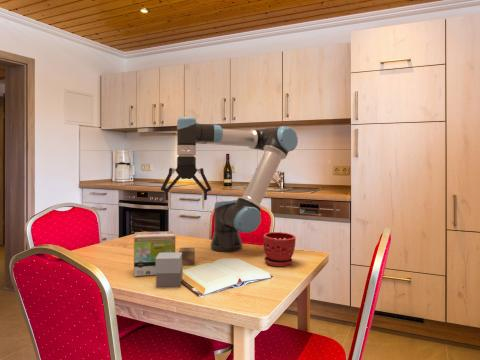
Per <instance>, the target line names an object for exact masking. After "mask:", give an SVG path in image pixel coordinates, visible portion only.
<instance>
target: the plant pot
mask: <svg viewBox="0 0 480 360" xmlns="http://www.w3.org/2000/svg"><path fill="white" fill-rule="evenodd" d="M295 247H296V236H295V235H294V234H292V233H288V232H277V231H275V232H273V231H271V232H266V233H264V234H263V251H264V254H265V256H264V258H263V260H264V262H265V263H266V264H267V265H270V266H273V267H286V266H290V265H291V264H292V263H293V258H292V257H293V255H294V253H295V251H294V250H295Z"/></svg>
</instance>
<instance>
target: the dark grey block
mask: <svg viewBox="0 0 480 360" xmlns="http://www.w3.org/2000/svg"><path fill="white" fill-rule="evenodd" d="M183 274H184V273H183V267H182V268H181V271H180V273H156V275H155V280H156V281H155V282H156V283H155V287H156V288H158V289H160V288H162V287H163V288H181V287H182V283H181V281H182V282H183V280H182V277H183ZM180 286H181V287H180Z"/></svg>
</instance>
